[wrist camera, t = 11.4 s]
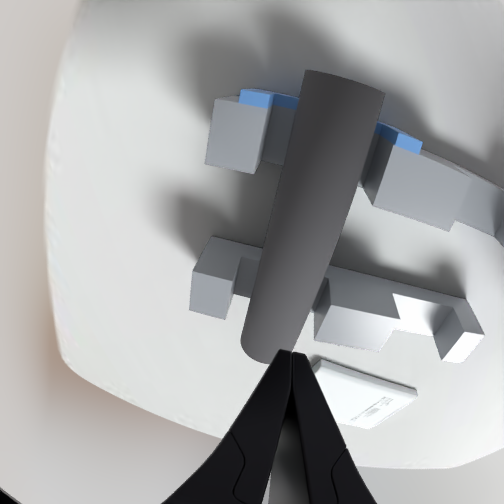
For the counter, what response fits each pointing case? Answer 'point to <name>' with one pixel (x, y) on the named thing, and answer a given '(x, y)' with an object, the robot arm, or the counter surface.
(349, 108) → the dark grey cylinder
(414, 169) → the grey blocky pieces
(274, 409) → the robot arm
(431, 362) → the counter surface
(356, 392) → the external hard drive
